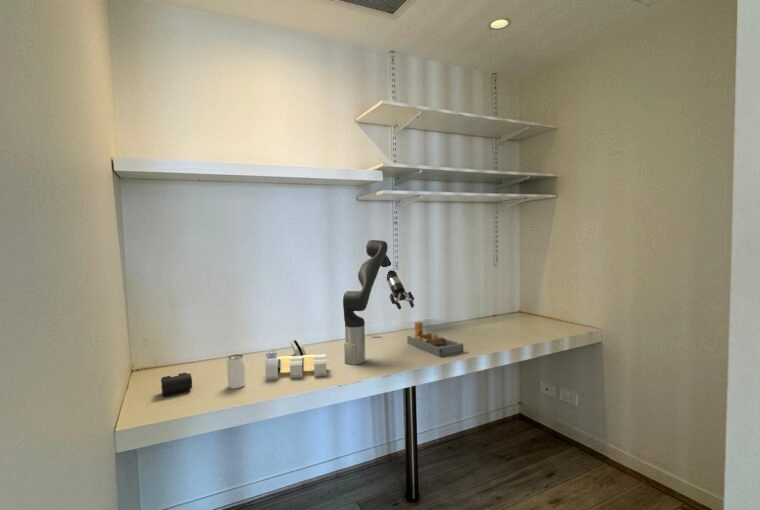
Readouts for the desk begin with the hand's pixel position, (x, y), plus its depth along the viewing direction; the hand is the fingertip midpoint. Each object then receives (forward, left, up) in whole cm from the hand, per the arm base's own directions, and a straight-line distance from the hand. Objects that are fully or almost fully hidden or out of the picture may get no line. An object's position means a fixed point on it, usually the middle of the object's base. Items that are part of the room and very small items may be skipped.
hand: (406, 307), depth 225 cm
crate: (-8, -16, -16) cm, 24 cm away
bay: (-12, -22, -17) cm, 31 cm away
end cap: (-114, +40, -18) cm, 122 cm away
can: (-98, +25, -18) cm, 103 cm away
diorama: (-76, +13, -18) cm, 79 cm away
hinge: (-58, +29, -18) cm, 67 cm away
